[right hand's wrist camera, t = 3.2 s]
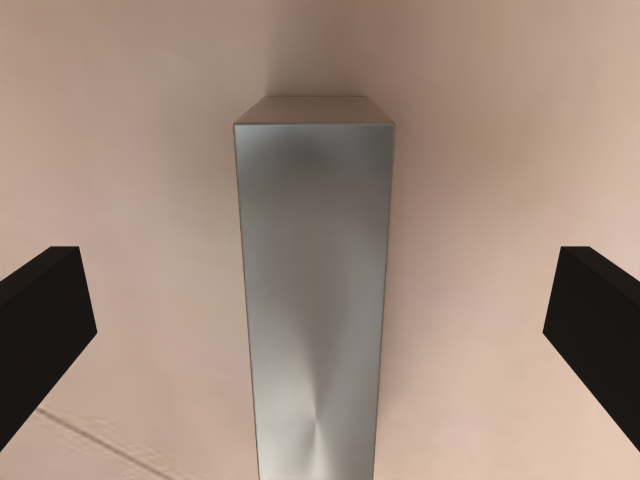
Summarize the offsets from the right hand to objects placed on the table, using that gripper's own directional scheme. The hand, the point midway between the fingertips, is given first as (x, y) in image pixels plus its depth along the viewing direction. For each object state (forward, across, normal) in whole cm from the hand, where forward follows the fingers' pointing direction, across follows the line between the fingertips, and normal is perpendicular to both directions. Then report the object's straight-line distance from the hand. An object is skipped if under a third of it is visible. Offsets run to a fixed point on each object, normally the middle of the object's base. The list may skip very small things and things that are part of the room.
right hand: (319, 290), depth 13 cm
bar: (+13, 0, -8) cm, 15 cm away
